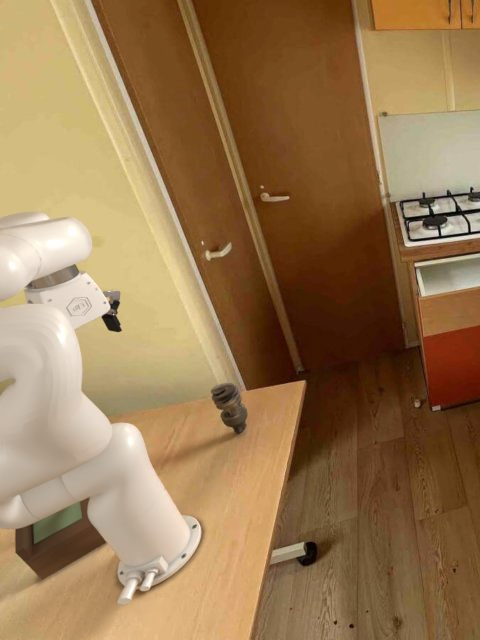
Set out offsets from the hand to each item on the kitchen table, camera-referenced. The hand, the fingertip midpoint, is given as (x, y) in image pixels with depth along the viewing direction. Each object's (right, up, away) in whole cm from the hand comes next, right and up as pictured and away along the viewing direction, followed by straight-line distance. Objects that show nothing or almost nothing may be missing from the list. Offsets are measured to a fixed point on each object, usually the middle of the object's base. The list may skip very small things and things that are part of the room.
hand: (91, 344), depth 90 cm
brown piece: (+4, -36, -7) cm, 37 cm away
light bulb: (+22, -25, +15) cm, 37 cm away
